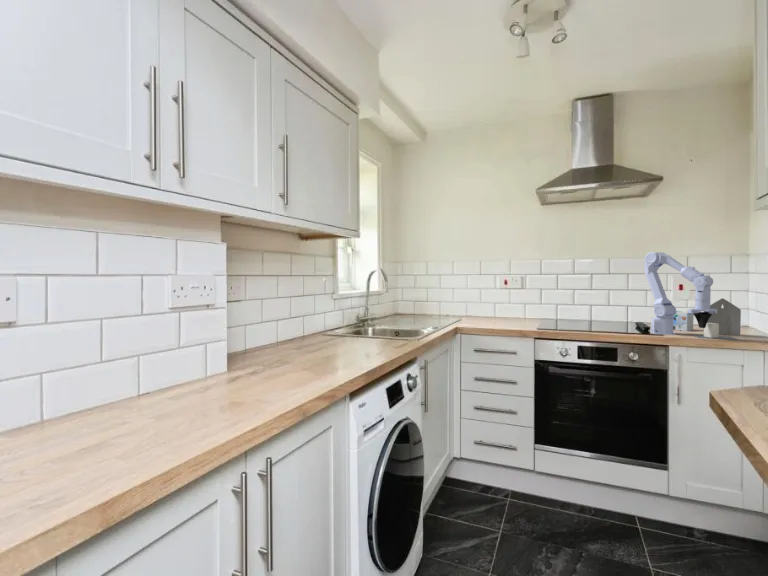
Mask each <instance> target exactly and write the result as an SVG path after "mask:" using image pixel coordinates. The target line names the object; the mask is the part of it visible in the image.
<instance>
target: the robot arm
mask: <svg viewBox="0 0 768 576" xmlns="http://www.w3.org/2000/svg"><path fill="white" fill-rule="evenodd" d="M643 260H644V268H643V271H644V274H645V278H646V280H647V282H648V285H649V287H650V290H651V293H652V295H653V299H654V302H653V307H654V309H653V313H654V315H655V317H652V318H651V320H650V322H651V323H650V333H652V334H653V335H667V336H668V335H672V336H676V333H674V330H673V315H675V314H676V311H677V309H676V307H675V305H673V303H672V301H671V300H670V299H669V298H668V296H667V295H666V291H665V288H664V287H663V283H662V281H661V277H660V276H659V273H658V270H659V268H661V267H662V266H663V265H668V266H669V267H671V268H673V269H674V270H676V271H679V272H680V275H681V276H682V277H683V278H684V279H687V280H688V281H690V282H691V283H692V284H693V286H694V287H695V297H694V298H695V301H694V302H695V304H694V307H695V308H688V309H687V312H688V313H694V317H695V318H694V319H695V320H696V322H697V325H698V328H700V329H704V328H705V327H706V324H707V322H708V320H709V318H710V317H711V316H712V314H709V313H717V309H710V305H711V286H712V285H713V284H714V280H713V279H714V278H712V277H711V276H710V275H705V273H704V272H700V271H698V270H697V269H696V267H694V266H686V265H684V264H682V263H681V262H679V261H678V260H676V259H675V258H673V257H672V256H670V255H669V254H667V253H665V252H661V251H660V252H654V251H651V252H648V253H647V254H646V255H645V257H644V259H643ZM704 311H706V312H704Z"/></svg>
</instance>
